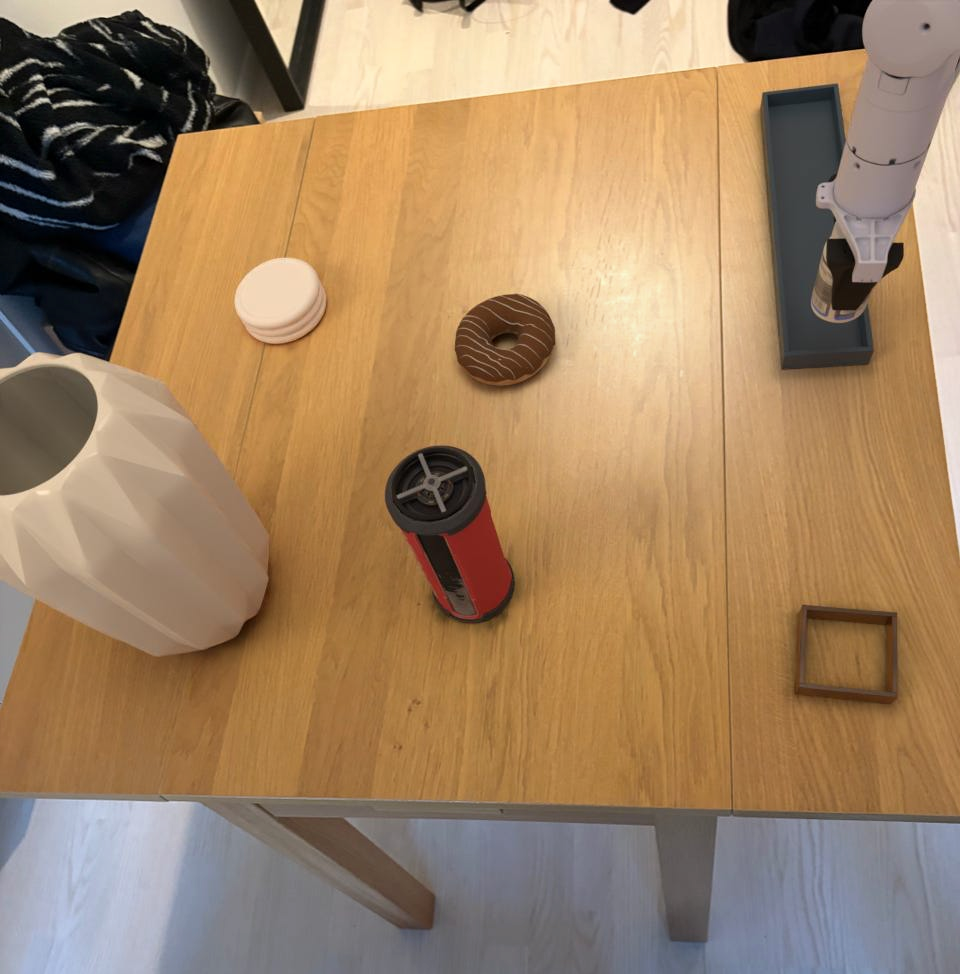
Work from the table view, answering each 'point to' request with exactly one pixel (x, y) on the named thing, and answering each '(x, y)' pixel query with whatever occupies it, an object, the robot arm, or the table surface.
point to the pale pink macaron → (280, 300)
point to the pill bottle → (824, 291)
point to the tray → (805, 224)
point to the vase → (122, 508)
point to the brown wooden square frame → (851, 616)
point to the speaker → (451, 531)
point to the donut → (497, 319)
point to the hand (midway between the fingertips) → (845, 283)
